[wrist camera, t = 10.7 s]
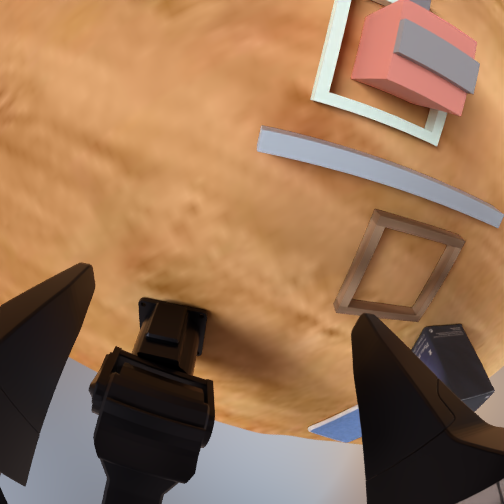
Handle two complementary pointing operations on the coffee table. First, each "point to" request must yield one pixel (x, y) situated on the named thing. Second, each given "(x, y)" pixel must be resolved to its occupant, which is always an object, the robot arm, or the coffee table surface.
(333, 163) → the door edge rail
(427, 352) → the small box
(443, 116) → the socket
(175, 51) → the coffee table surface
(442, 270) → the frame
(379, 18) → the block
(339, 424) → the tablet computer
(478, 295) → the coffee table surface
